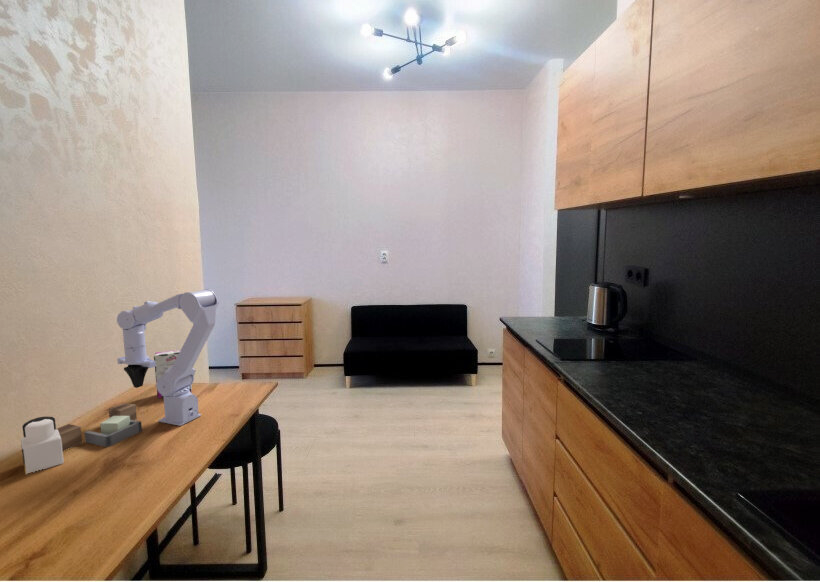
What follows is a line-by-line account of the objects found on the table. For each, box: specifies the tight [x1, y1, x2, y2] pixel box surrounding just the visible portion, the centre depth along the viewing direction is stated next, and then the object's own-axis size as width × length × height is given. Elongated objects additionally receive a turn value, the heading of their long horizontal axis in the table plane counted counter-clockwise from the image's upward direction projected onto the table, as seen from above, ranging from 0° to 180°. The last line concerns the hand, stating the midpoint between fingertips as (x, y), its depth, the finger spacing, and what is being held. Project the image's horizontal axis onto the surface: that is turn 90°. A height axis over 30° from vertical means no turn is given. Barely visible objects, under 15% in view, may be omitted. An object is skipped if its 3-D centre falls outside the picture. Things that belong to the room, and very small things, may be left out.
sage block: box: [100, 416, 131, 435], centre depth 115 cm, size 5×5×5 cm
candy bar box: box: [153, 349, 193, 399], centre depth 147 cm, size 11×5×16 cm, turn 117°
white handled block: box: [20, 416, 65, 475], centre depth 99 cm, size 7×7×12 cm
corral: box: [83, 420, 143, 448], centre depth 114 cm, size 9×10×3 cm
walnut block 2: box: [108, 402, 138, 421], centre depth 124 cm, size 5×5×5 cm
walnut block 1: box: [56, 423, 83, 452], centre depth 109 cm, size 5×5×5 cm
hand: (138, 386), depth 128 cm, fingers closed
